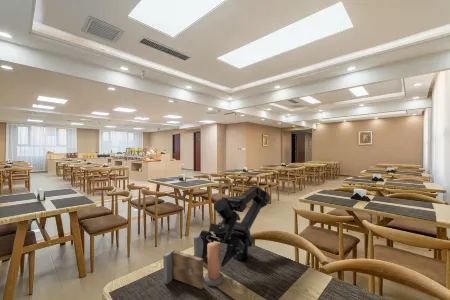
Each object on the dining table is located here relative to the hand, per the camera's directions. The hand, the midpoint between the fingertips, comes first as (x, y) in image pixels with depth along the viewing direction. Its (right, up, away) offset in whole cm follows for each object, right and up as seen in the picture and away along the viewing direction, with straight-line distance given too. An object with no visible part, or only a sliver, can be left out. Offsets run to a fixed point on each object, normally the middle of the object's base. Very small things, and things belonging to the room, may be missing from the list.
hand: (212, 262), depth 80 cm
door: (-10, -7, -1) cm, 12 cm away
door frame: (-12, -7, +9) cm, 17 cm away
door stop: (+1, -7, +1) cm, 7 cm away
